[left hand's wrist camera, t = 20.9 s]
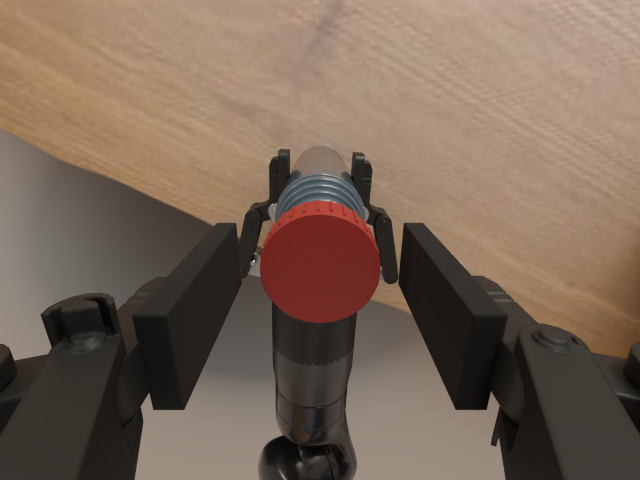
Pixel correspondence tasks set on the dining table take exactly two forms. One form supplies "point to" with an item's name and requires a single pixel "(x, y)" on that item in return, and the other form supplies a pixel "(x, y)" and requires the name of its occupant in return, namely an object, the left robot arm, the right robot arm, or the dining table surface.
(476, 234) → the dining table surface
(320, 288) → the cap
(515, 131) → the dining table surface
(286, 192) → the bottle
